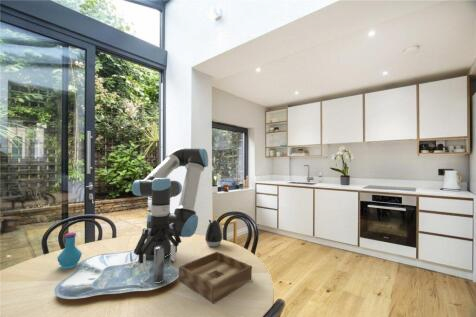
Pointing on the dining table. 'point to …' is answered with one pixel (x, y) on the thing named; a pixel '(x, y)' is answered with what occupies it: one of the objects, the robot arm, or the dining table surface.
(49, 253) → the dining table surface
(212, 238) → the pump dispenser
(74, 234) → the perfume bottle
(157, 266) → the peg
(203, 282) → the box
